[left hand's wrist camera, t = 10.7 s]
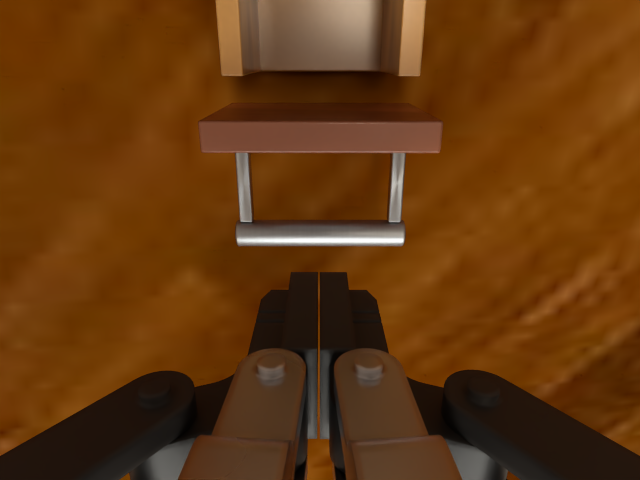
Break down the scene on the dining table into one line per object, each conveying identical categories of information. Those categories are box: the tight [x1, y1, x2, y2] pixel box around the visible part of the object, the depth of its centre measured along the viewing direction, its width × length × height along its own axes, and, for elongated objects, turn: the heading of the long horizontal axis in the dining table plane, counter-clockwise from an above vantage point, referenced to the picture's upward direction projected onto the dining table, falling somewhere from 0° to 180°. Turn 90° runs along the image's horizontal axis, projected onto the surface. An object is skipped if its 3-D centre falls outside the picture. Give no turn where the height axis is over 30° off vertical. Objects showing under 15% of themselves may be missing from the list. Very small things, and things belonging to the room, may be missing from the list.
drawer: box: [198, 0, 443, 246], centre depth 18 cm, size 20×9×7 cm, turn 0°
